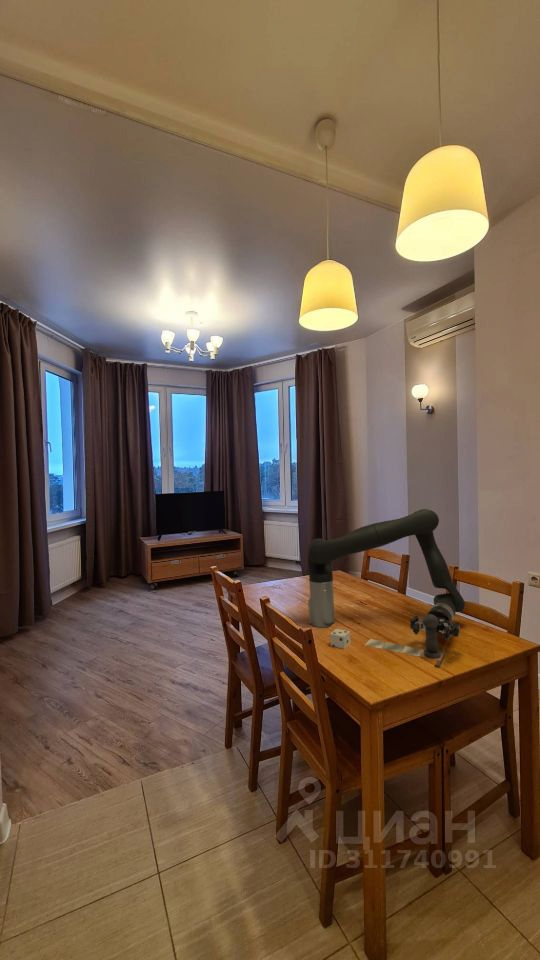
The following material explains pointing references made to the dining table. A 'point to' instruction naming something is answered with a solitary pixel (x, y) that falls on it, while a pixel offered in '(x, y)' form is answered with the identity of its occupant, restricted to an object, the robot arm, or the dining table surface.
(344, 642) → the die
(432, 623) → the pawn
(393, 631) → the dining table surface
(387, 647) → the board
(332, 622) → the robot arm
